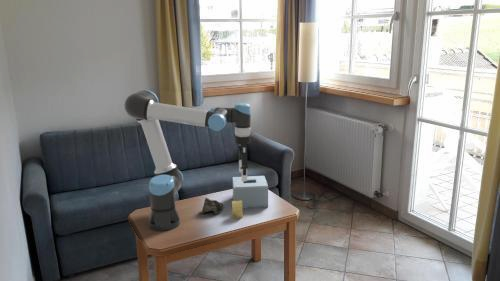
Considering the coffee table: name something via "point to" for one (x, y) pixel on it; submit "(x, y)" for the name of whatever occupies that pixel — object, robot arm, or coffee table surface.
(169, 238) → the coffee table surface
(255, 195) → the coin box
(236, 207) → the block
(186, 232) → the coffee table surface
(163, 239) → the coffee table surface
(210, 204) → the fossil
